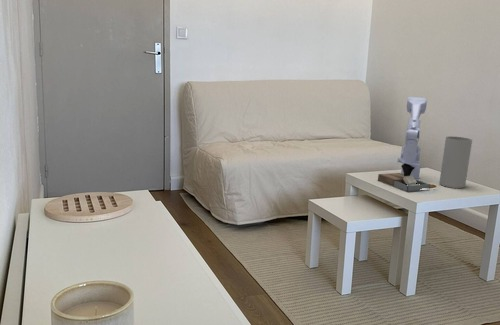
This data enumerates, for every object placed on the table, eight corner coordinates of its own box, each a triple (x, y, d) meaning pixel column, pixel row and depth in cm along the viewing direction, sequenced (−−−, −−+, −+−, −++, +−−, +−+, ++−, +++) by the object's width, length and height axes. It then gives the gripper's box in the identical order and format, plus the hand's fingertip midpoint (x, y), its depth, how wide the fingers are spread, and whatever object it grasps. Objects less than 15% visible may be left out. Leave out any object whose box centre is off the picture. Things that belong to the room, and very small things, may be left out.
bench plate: (398, 179, 257) (399, 172, 256) (414, 184, 246) (415, 178, 245) (377, 180, 251) (378, 174, 250) (393, 186, 240) (393, 179, 240)
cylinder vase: (467, 185, 251) (474, 138, 245) (462, 190, 240) (469, 141, 235) (442, 181, 257) (448, 135, 252) (436, 185, 247) (443, 138, 242)
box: (414, 185, 246) (415, 179, 245) (429, 190, 237) (430, 184, 236) (393, 186, 240) (394, 181, 239) (407, 192, 231) (408, 186, 230)
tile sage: (422, 185, 235) (421, 189, 235) (416, 183, 239) (415, 187, 239) (414, 186, 233) (414, 190, 233) (408, 184, 237) (407, 187, 237)
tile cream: (410, 178, 242) (412, 175, 241) (415, 184, 240) (417, 182, 238) (402, 179, 240) (404, 176, 239) (407, 185, 238) (409, 182, 236)
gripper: (394, 150, 243) (390, 175, 246) (414, 156, 230) (410, 183, 233) (404, 149, 246) (401, 175, 249) (425, 155, 233) (421, 182, 236)
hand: (406, 179), depth 241 cm, fingers closed, pressing on tile cream
